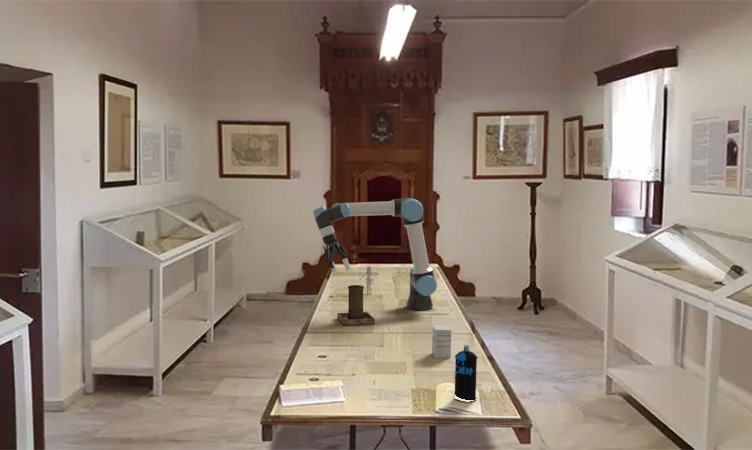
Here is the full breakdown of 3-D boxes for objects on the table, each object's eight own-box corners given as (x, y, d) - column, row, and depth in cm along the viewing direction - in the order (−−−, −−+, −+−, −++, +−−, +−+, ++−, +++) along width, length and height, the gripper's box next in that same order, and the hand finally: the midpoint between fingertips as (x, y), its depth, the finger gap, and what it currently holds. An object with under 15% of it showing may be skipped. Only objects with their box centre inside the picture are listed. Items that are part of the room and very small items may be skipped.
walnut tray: (367, 317, 392) (367, 311, 392) (374, 324, 376) (374, 318, 376) (337, 318, 388) (337, 313, 388) (343, 325, 372) (343, 320, 372)
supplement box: (431, 353, 324) (432, 325, 323) (447, 353, 325) (448, 325, 324) (434, 358, 317) (434, 329, 316) (450, 357, 318) (451, 329, 316)
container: (362, 322, 377) (362, 288, 375) (345, 321, 378) (345, 287, 376) (365, 318, 385) (366, 285, 384) (349, 317, 387) (349, 284, 385)
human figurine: (377, 293, 456) (378, 265, 454) (378, 295, 452) (379, 266, 450) (358, 294, 454) (359, 265, 452) (359, 295, 451) (359, 266, 449)
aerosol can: (460, 393, 271) (461, 341, 269) (480, 397, 267) (481, 344, 265) (449, 399, 265) (451, 346, 262) (469, 404, 260) (471, 349, 258)
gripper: (335, 234, 403) (348, 270, 402) (310, 240, 381) (324, 278, 380) (345, 230, 400) (359, 266, 398) (321, 235, 378) (335, 273, 376)
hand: (342, 272), depth 389 cm, fingers open, 13 cm apart
